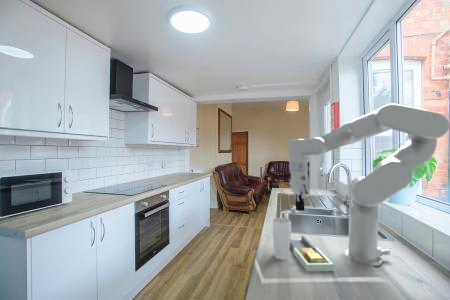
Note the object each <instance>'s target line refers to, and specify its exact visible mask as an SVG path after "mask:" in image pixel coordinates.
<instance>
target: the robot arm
mask: <svg viewBox="0 0 450 300" xmlns="http://www.w3.org/2000/svg"><path fill="white" fill-rule="evenodd" d="M449 129H450V121H449V119H448V118H447V117H446V116H445V115H443V114H441V113H439V112H435V111H432V110H426V109H421V108H416V107H412V106H407V105H402V104H398V103H388V104H385V105H383V106H381V107H379V108H378V109H376V110H374V111H372V112H369V113H367V114H364V115H361V116H360V117H358V118H355V119H352V120H350V121H348V122H346V123H344V124H342V125H341V126H339V127H338V128H336V129H335V130H332V131H330V132H327V133H326V134H323V135H321V136H319V137H318V136H317V137H315V136H314V137H310V138H292V139H290V140H289V141H288V161H289V165H288V167H289V172H291V173H290V191H291V192H292V193H293V195H294V200H295V202H294V203H295V210H296V211H298V212H301V211H302V212H303V211H305V199H306V198H307V197H306V195H310V193H311V189H310V179H309V174H308V172H309V165H308V162H309V161H308V156H316V157H317V156H321V155H323V154H326V153H328V152H331V151H333V150H336V149H339V148H341V147H344V146H348V145H353V144H355V143H359V142H361V141H363V140H366V139H369V138H372V137H374V136H376V135H379V134H382V133H384V132H387V131H390V130H394V131H397V132H400V133H405V134H407V140H406V142H405V143H404V144H403V145H401V147H399V148H398V149H397V150H395V152H393V153H391V154H390V155H388V156H387V157H385V158H384V159H382V160H381V161H380V162H378V163H377V164H376V165H375V167H374V170H373V171H372V172H369V174H368V175H365V176H357V177H355V178H354V179H351V180H352V181H350V183H349V186H348V187H349V188H348V197H349V198H348V200H349V202H348V203H349V205H348V208H349V210H348V213H349V214H348V248H347V249H345V250H344V254H345V256H347V258H350V259H352V260H353V261H357V262H358V263H362V264H369V265H370V266H372V267H378V266H382V264H383V258H382V256H390V254H391V251H390V250H389V249H383V248H382V247H380V246H379V247H378V241H379V240H378V239H379V235H378V234H379V205H380V204H382V203H383V202H385V201H387V200H388V199H390V198H392V197H393V196H394V195H395V194H397V193H399V192H401V190H404V189H405V188H406V187H407V186H408V185H409V184H410V183H411V182H412V180H413V176H414V171H416V170H417V169H418V168H420V167H421V166H422V165H424V164H426V162H428V161H429V159H431V158H432V157H433V155H434V153H435V151H436V148H437V144H438V139H439V138H442V137H443V136H445V135H446V134H447V133H448V131H449Z"/></svg>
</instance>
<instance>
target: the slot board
mask: <svg viewBox="0 0 450 300" xmlns="http://www.w3.org/2000/svg"><path fill="white" fill-rule="evenodd" d="M300 238H301V239H299V240H297V239H294V240H293V239H292V238H290V247H289V248H290V249H291V250H292V251H293V252H294V248H297V249H298V250H299V252H300V253H301V248H312V249H313V250H314V252H315V247H316V246H315V245H314V244H313V243H312V242H311V241H310V240H309V239H308V238H307V237H306V236H305V235H301V237H300Z"/></svg>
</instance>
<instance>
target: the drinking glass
mask: <svg viewBox="0 0 450 300" xmlns="http://www.w3.org/2000/svg"><path fill="white" fill-rule="evenodd" d="M291 236H292V221H291V219H288V218H286V217H275V218H274V219H272V237H273V251H274V252H273V253H274V258H276V259H277V260H280V261H286V260H289V258H290V248H291V247H290V239H291Z"/></svg>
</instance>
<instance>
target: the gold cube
mask: <svg viewBox="0 0 450 300" xmlns="http://www.w3.org/2000/svg"><path fill="white" fill-rule="evenodd" d="M306 253H315V252H314V250H313V249H312V248H301V254H302V256H303V257H304V258H305V259H306Z"/></svg>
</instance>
